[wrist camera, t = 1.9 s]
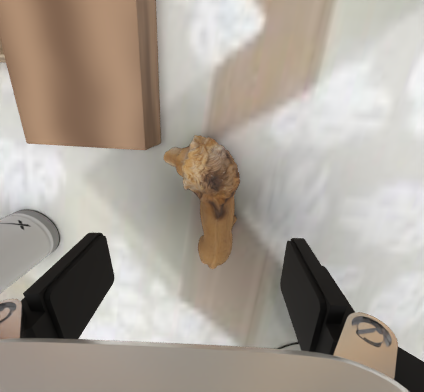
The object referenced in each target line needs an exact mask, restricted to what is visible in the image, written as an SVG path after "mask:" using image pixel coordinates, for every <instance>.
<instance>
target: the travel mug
mask: <svg viewBox="0 0 424 392" xmlns="http://www.w3.org/2000/svg"><path fill="white" fill-rule="evenodd" d="M58 243H59V234H58V231H57V229H56V227H55V226H54V224H53V223H52V222H51V221H50V220H49V219H48V218H47V217H45V216H44V215H42V214H40V213H38V212H35V211H31V210H20V211H17V212H15V213H13V214H10V215H8V216H6V217H5V218H2V219H0V293H2V292H3V291H4V290H5V289H7V288H8V287H9V286H10V285H12V284H13V283H14V282H15V281H17V280H18V279H19V278H20V277H22V276H23V275H24V274H25V273H27V272H28V271H29V270H30V269H32V268H33V267H34V266H35V265H37V264H38V263H39V262H40V261H42V260H43V259H44V258H45V257H47V256H48V255H49V254H51V253H52V252H53V251H54V250H55V249H56V248H57V246H58Z"/></svg>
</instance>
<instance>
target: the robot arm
mask: <svg viewBox="0 0 424 392" xmlns="http://www.w3.org/2000/svg"><path fill="white" fill-rule="evenodd" d="M113 282H114V273H113V268H112V263H111V258H110V254H109V249H108V244H107V239H106V237H105V236H103V234H102V233H88V234H87V235H86V236H85V237H84V238H83V239H82V240H80V241H79V242H78V243H77V244H76V245H75V246H74V247H73V248H72V249H71V250H70V251H69V252H67V253H66V254H65V255H64V256H63V257H62V258H61V259H60V260H59V261H58V262H57V263H56V264H54V265H53V266H52V267H51V268H50V269H49V270H48V271H47V272H46V273H45V274H44V275H43V276H42V277H40V278H39V279H38V280H37V281H36V282H35V283H34V284H33V285H32V286H31V287H30V288H29V289H27V290H26V291H25V292H24V293H23V294H24V296H25V298H24V299H22V300H21V301H20V300H18V299H6V300H3V301H0V392H424V362H423V361H421V360H419V359H418V358H416V357H414V356H413V355H411V354H409V353H408V352H406V351H404V350H403V349H401V348H399V347H398V342H397V338H396V337H395V335H394V333H393V332H392V331H391V329H390V328H389V327H388V326H387V325H385V324H384V323H383V322H382V321H380V320H378V319H377V318H375V317H373V316H371V315H368V314H365V313H360V312H358V313H355V311H354V310H353V308H352V307H351V305H350V304H349V302H348V301H347V299H346V298H345V296H344V295H343V293H342V292H341V290H340V289H339V287H338V286H337V284H336V283H335V281H334V280H333V278H332V277H331V275H330V273H329V272H328V270H327V269H326V268H325V267H324V266H321V264H320V263H319V261H318V260H317V258H316V256H315V255H314V253H313V252H312V250H311V249H310V247H309V245H308V244H307V242H306V241H305V239H303V238H292V239H291V241H287V245H286V251H285V257H284V264H283V270H282V276H281V291H282V294H283V297H284V300H285V303H286V306H287V309H288V312H289V315H290V318H291V321H292V324H293V327H294V330H295V333H296V336H297V339H298V342H299V344H295V345H290V346H287V347H284V348H281V349H272V348H257V347H238V346H219V345H200V344H179V343H157V342H135V341H111V340H86V339H78V338H79V337H80V335H81V334H82V332H83V330H84V329H85V327H86V326H87V324H88V322H89V321H90V319H91V318H92V316H93V315H94V313H95V311H96V310H97V308H98V307H99V305H100V303H101V302H102V300H103V299H104V297H105V295H106V294H107V292H108V291H109V289H110V287H111V286H112V284H113Z"/></svg>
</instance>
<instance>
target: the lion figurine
mask: <svg viewBox="0 0 424 392" xmlns="http://www.w3.org/2000/svg"><path fill="white" fill-rule="evenodd" d="M164 160H165V162H166V163H169V164H170V165H171V166H175V167H176V169H177V172H178V174H180V175H181V176H182V177H183V185H184V189H185V190H186V189H189V190H191V191H193V192H194V193H195V194H196V195H197V196H198V197H199V199H200V200H201V202H200V215H201V221H202V226H203V231H204V235H203V236H202V237H201V238H200V240H199V244H198V251H199V256H200V259H201V261H202V262H203V263H204V264H207V265H208V266H209V267H210V268H211V269H214V268H216V267H217V266H218V265H221V264H223V263H224V262H225V261H226V260H227V259H228V257H229V255H230V253H231V249H232V233H231V230H232V227H233V225H234V223H235V222H236V220H237V218H236V216H235V215H234V208H235V202H234V194H235V192H236V190H237V188H238V185H239V183H240V180H239V172H238V168H237V164H236V163H235V162H234V159H233V158H232V156H231V155H230V153H229V151H228V150H225V147H224V146H222V145H219V144H218V143H217V142H216V141H215V140H214V139H211V138H209V137H208V138H206V137H202V136H197V135H195V136H194V139H193V140H192V142H191V143H190V146H188V147H186V148H182V149H180V148H177V147H173V148H171V149H170V150H169V151H167V152H166V153H165V155H164Z"/></svg>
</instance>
